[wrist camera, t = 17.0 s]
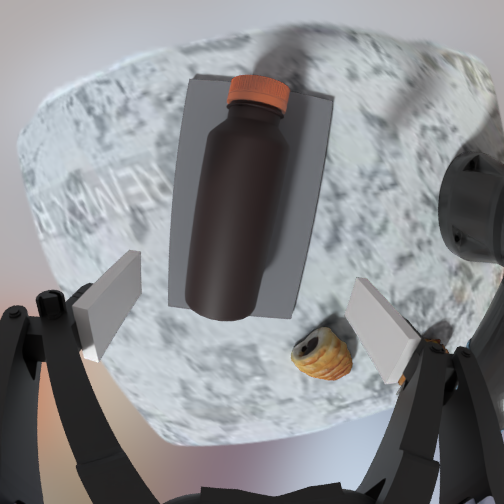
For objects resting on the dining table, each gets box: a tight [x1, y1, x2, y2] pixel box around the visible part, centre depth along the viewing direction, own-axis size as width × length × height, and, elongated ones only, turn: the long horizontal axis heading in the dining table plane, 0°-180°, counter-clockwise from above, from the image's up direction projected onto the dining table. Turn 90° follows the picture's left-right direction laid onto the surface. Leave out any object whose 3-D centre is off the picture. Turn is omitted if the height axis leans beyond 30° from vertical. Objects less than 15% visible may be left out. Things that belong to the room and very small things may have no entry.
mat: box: [168, 79, 333, 319], centre depth 26 cm, size 14×24×1 cm, turn 172°
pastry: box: [291, 327, 353, 381], centre depth 32 cm, size 9×7×4 cm
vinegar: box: [185, 75, 290, 321], centre depth 22 cm, size 7×7×20 cm
